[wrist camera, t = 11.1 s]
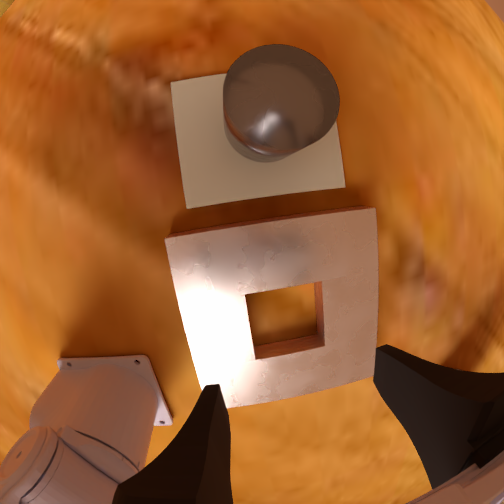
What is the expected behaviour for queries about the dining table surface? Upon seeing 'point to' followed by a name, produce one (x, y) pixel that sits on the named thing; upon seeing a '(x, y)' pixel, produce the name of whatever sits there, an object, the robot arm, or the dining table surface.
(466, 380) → the robot arm
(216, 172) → the pad
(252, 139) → the grey metal cylinder
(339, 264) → the housing plate
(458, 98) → the dining table surface
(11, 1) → the handbell
